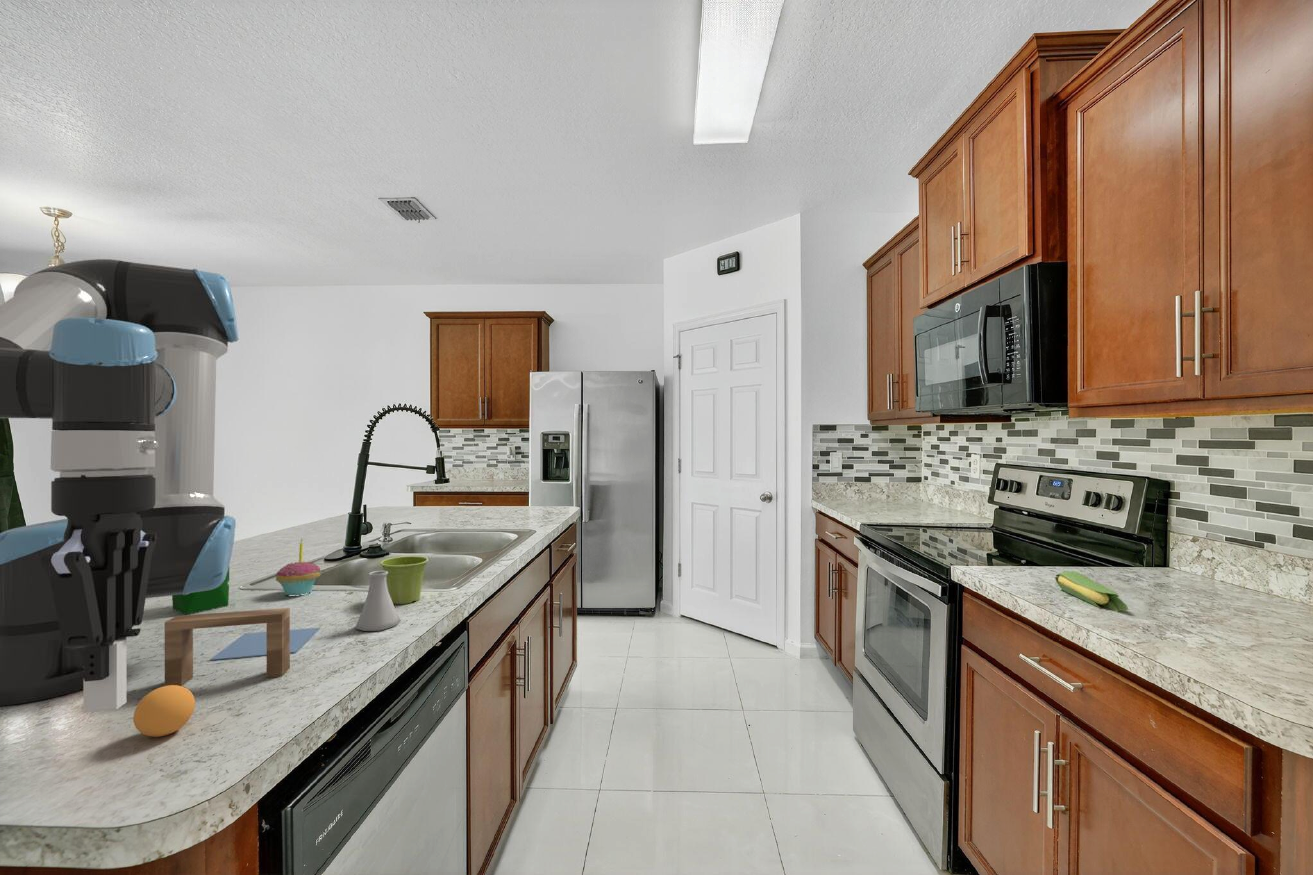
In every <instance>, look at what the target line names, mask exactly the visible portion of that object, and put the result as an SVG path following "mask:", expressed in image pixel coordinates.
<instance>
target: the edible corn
mask: <svg viewBox="0 0 1313 875" xmlns="http://www.w3.org/2000/svg"><path fill="white" fill-rule="evenodd" d="M1055 576H1056V577H1054V578H1055V582H1056V584H1057V585H1058V587H1059V588H1060V589H1061V590H1062V591H1064V592H1065V593H1067V594H1069V595H1071V596H1073V597H1076V598H1078V599H1080V600H1082V601H1084V602H1086V603H1088V604H1090V605H1092V606H1095V607H1096V608H1099V609H1100V610H1103V609H1104V608H1102V607H1101V606H1103V607H1105V608H1107V609H1109V610H1112V611H1113V612H1115V613H1119V612H1118V611H1129V608H1128V605H1127V604H1126V603H1125V602H1124V601H1123V600H1122V599H1121V598H1119V597H1120V595H1119V594H1118V592H1116V591H1114V590H1112V589H1111V588H1108V587H1106V586H1104V585H1102V584H1100V583H1098V582H1096V581H1094V580H1093V579H1091V578H1089V577H1087V576H1085V575H1083V574H1082V573H1080V572H1076V571H1073V570H1072V571H1071V570H1065V571H1063V572H1060V573H1058V574H1055ZM1100 605H1101V606H1100Z"/></svg>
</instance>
